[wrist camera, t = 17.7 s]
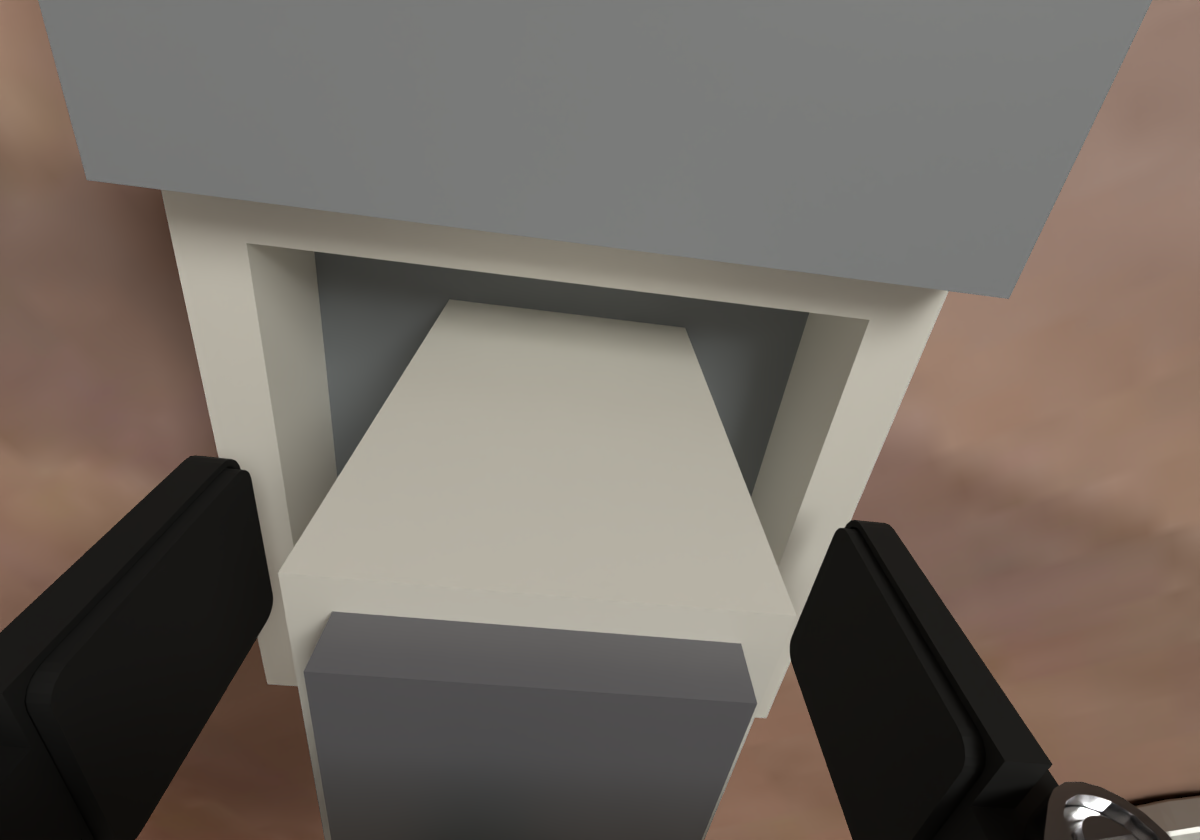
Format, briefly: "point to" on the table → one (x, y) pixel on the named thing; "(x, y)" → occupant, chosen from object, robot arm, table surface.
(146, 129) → the lid
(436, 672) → the plug
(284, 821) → the table surface
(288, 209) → the frame
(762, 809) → the table surface
